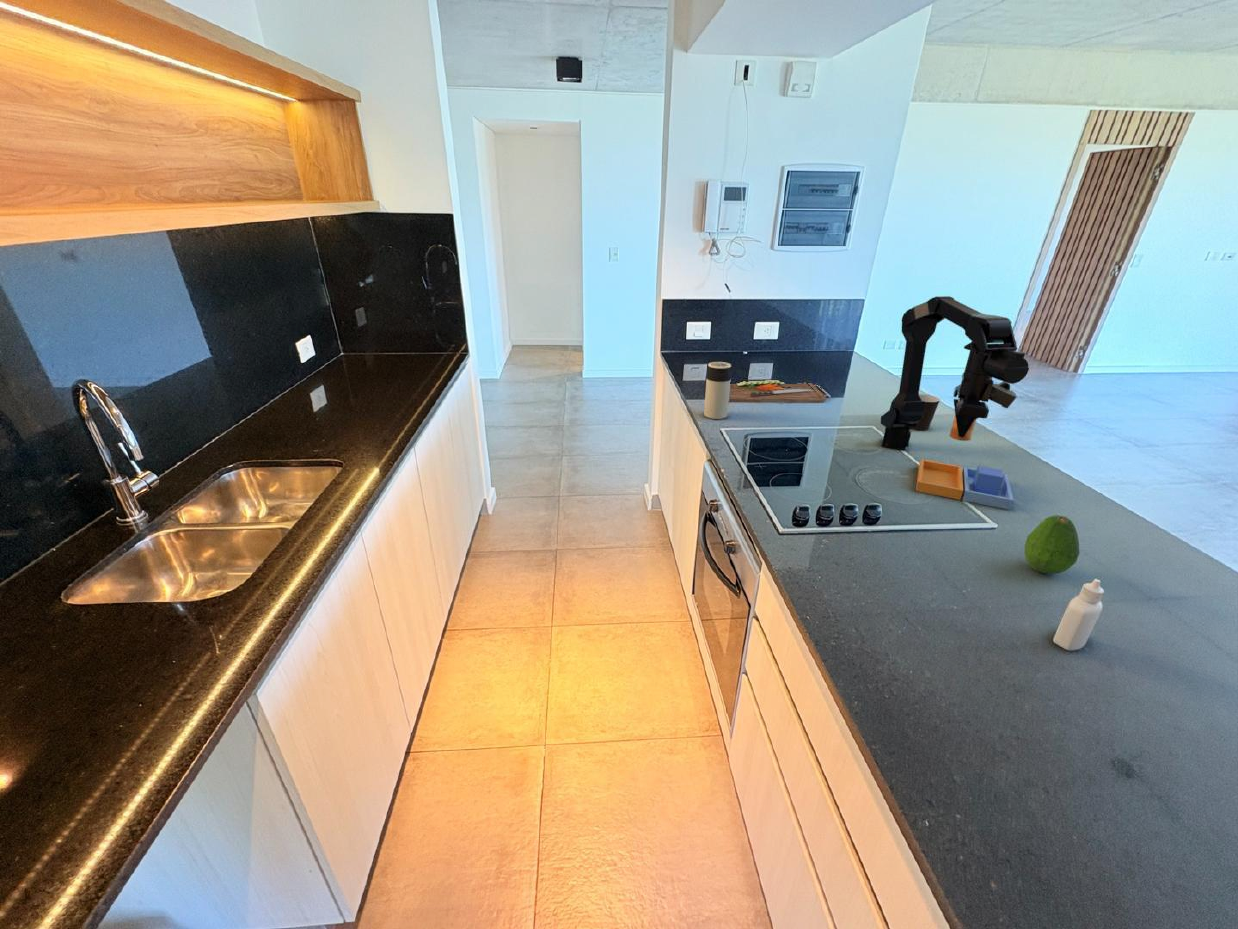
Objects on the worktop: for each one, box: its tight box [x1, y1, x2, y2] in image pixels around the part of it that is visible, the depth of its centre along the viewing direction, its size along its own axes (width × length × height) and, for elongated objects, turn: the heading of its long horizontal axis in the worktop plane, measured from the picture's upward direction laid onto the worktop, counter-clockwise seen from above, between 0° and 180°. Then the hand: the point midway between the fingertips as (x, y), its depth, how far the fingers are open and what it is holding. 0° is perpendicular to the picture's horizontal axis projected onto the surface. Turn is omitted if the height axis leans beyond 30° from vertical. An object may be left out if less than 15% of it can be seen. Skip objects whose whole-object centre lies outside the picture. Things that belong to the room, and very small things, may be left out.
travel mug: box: [703, 361, 732, 420], centre depth 178 cm, size 8×8×18 cm
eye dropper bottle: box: [1053, 578, 1105, 652], centre depth 82 cm, size 4×6×12 cm
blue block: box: [973, 465, 1004, 496], centre depth 130 cm, size 5×5×5 cm
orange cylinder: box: [949, 416, 977, 442], centre depth 131 cm, size 5×5×5 cm
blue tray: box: [961, 466, 1015, 511], centre depth 130 cm, size 10×16×3 cm, turn 150°
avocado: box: [1024, 514, 1080, 574], centre depth 99 cm, size 8×8×12 cm
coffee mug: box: [910, 393, 941, 432], centre depth 171 cm, size 12×9×10 cm
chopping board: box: [729, 380, 832, 404], centre depth 207 cm, size 45×27×3 cm, turn 88°
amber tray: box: [915, 458, 963, 501], centre depth 135 cm, size 10×16×3 cm, turn 150°
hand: (960, 433), depth 131 cm, fingers closed on orange cylinder, 4 cm apart
